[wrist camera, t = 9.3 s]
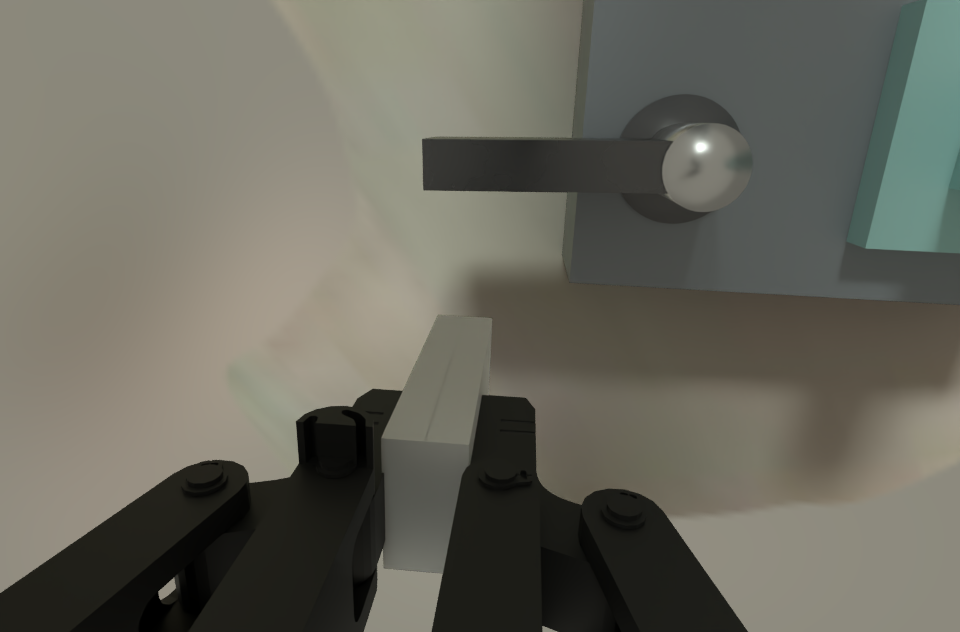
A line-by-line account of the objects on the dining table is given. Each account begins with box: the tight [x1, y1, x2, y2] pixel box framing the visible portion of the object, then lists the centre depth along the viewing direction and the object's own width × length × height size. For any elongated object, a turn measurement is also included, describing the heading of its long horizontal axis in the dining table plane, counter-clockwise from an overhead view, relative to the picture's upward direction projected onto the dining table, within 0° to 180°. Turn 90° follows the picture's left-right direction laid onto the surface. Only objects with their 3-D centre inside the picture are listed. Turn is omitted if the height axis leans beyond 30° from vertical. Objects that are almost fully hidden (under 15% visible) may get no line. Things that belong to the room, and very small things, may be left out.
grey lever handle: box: [422, 123, 753, 212], centre depth 23 cm, size 12×3×4 cm, turn 90°
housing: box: [562, 0, 960, 305], centre depth 26 cm, size 14×22×6 cm, turn 88°
